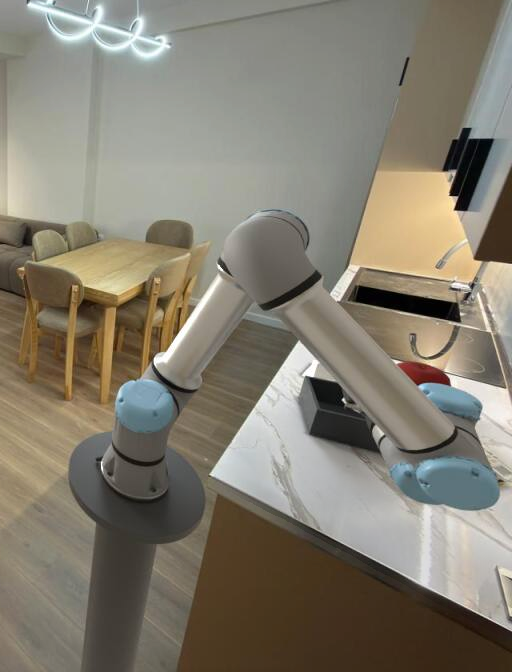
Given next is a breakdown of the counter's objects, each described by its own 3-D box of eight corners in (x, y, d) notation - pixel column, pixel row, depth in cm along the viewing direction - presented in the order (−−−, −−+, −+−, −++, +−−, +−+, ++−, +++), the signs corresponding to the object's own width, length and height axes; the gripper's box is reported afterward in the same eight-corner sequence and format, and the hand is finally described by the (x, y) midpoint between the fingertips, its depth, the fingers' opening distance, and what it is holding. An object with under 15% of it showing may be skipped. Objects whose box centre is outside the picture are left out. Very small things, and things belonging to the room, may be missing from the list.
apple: (442, 406, 113) (461, 366, 108) (434, 422, 106) (453, 380, 102) (386, 386, 122) (401, 348, 117) (375, 400, 115) (391, 361, 111)
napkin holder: (301, 375, 128) (305, 360, 126) (311, 363, 134) (315, 349, 132) (361, 397, 117) (367, 380, 115) (368, 383, 124) (374, 367, 122)
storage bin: (309, 434, 103) (317, 409, 100) (298, 397, 117) (305, 375, 114) (398, 457, 95) (410, 431, 92) (375, 415, 109) (384, 391, 106)
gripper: (338, 434, 82) (317, 378, 101) (447, 463, 75) (402, 396, 94) (349, 404, 79) (325, 353, 99) (463, 431, 72) (414, 369, 91)
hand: (363, 374), depth 96 cm, fingers closed on flask, 3 cm apart
